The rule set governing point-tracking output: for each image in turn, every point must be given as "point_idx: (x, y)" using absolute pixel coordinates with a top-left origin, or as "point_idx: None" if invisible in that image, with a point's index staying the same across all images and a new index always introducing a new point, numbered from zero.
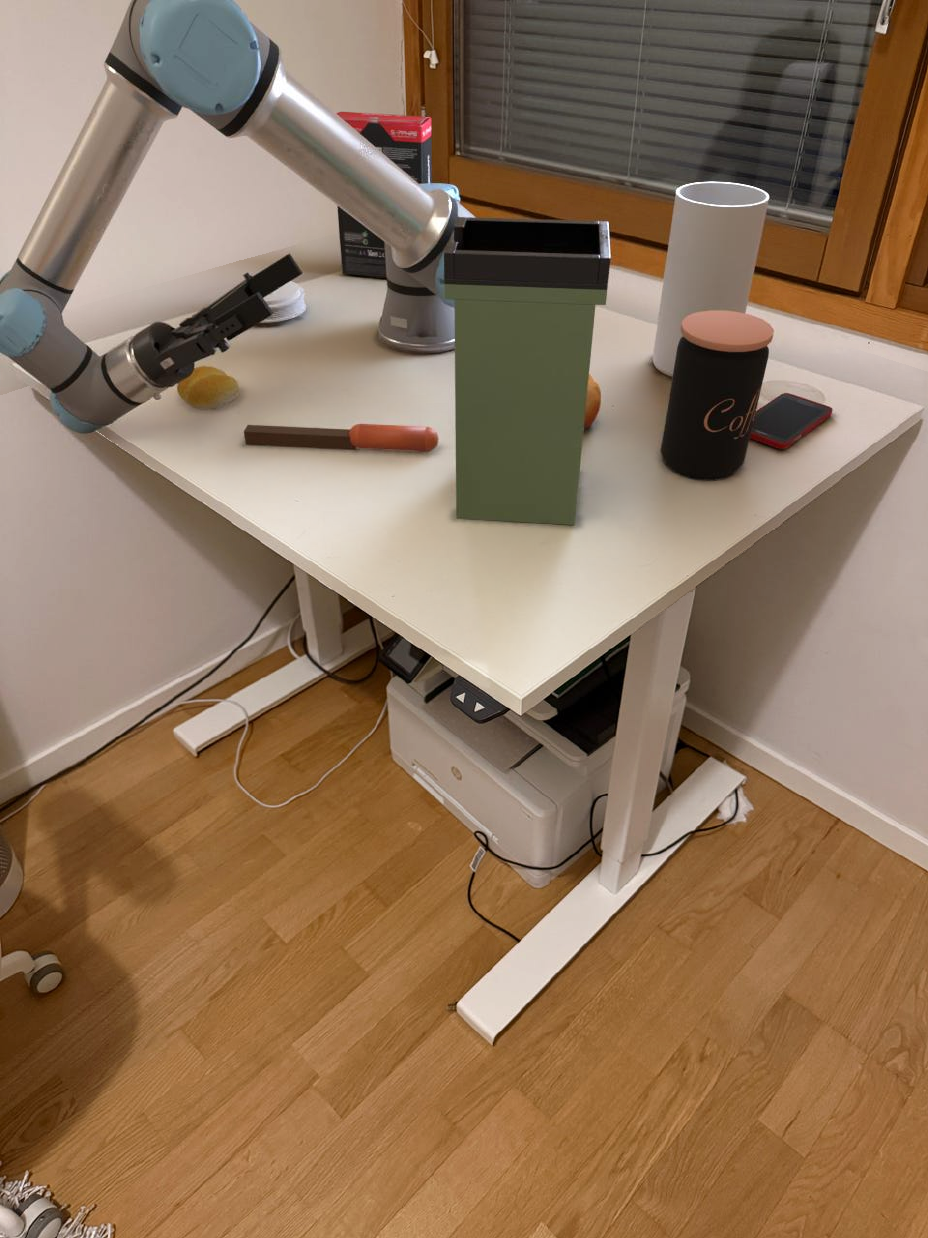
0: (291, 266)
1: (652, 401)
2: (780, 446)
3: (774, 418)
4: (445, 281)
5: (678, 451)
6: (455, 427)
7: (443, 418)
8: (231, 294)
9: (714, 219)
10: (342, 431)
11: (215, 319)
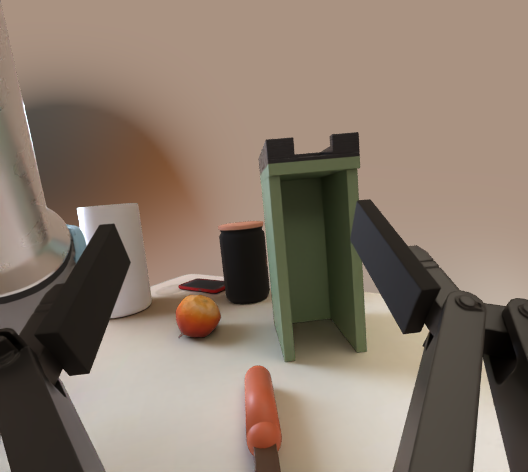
0: (120, 249)
1: (172, 313)
2: None
3: (206, 285)
4: (359, 154)
5: (263, 286)
6: (362, 271)
7: (184, 396)
8: (59, 413)
9: (134, 210)
10: (262, 458)
11: (434, 283)
